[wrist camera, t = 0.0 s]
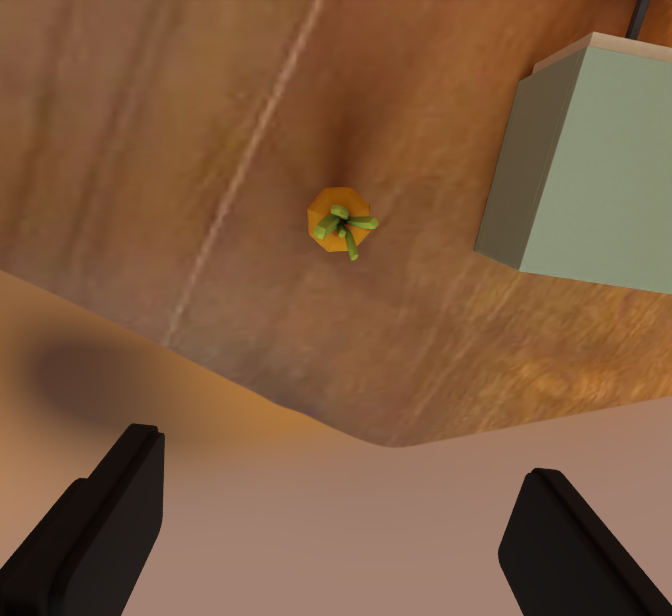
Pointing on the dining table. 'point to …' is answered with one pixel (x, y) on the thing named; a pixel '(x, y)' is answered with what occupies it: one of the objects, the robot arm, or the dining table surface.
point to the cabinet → (587, 173)
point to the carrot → (340, 220)
